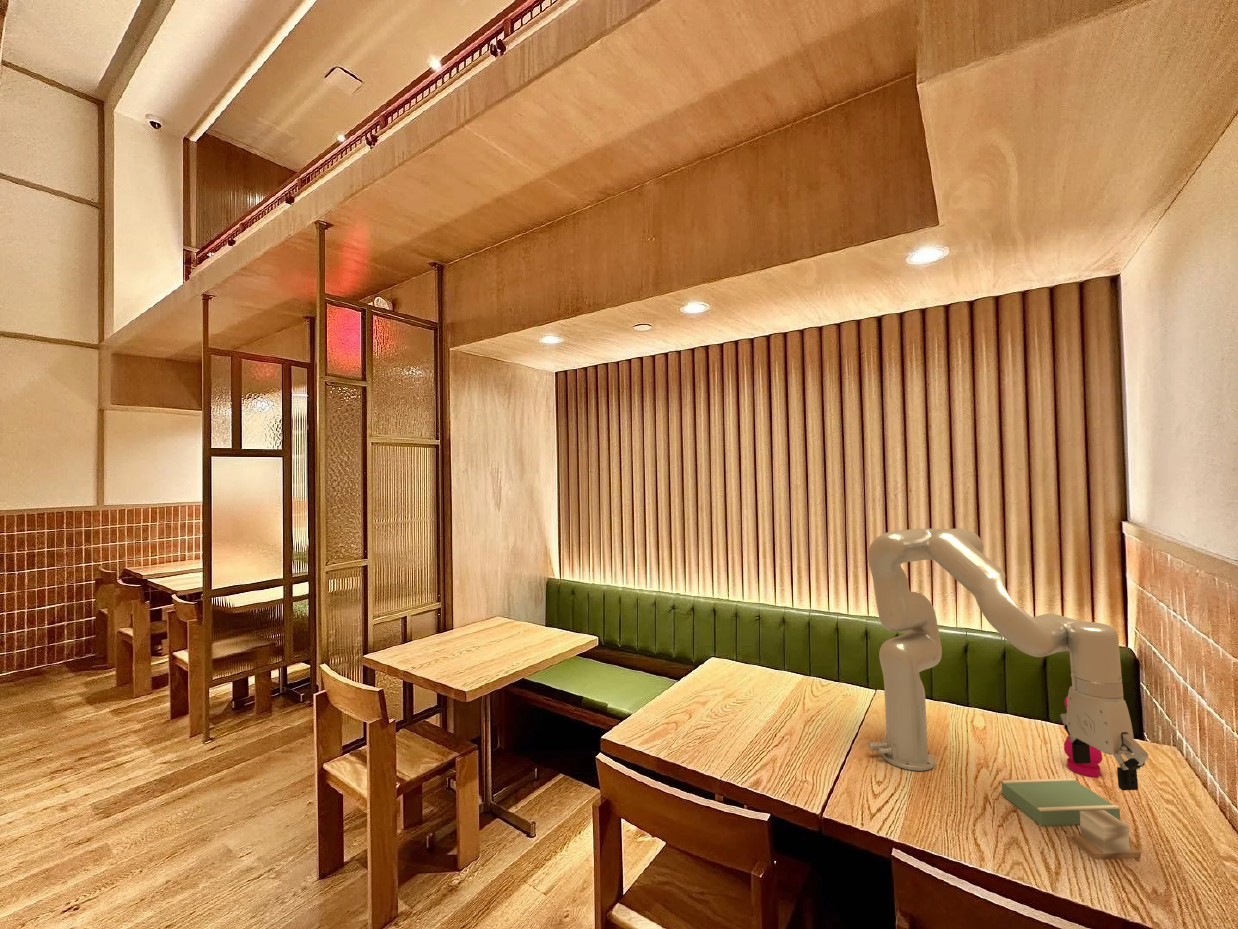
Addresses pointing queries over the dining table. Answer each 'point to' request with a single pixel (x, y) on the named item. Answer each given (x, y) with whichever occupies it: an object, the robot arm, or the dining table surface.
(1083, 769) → the pepper mill
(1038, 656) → the robot arm
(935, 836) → the dining table surface
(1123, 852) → the butter dish
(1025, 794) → the dock
